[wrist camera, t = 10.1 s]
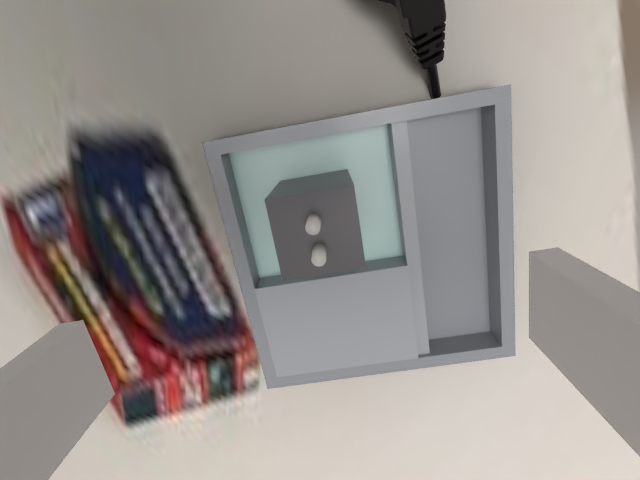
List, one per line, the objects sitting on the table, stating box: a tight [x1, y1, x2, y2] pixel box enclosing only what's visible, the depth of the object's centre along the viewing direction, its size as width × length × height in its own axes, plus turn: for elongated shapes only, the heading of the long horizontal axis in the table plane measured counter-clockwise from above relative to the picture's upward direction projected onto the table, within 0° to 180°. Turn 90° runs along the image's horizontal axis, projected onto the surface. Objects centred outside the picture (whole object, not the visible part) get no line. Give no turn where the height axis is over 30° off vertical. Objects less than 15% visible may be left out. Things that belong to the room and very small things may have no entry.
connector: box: [264, 169, 366, 281], centre depth 23 cm, size 5×5×9 cm
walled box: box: [202, 85, 515, 389], centre depth 28 cm, size 20×20×3 cm
